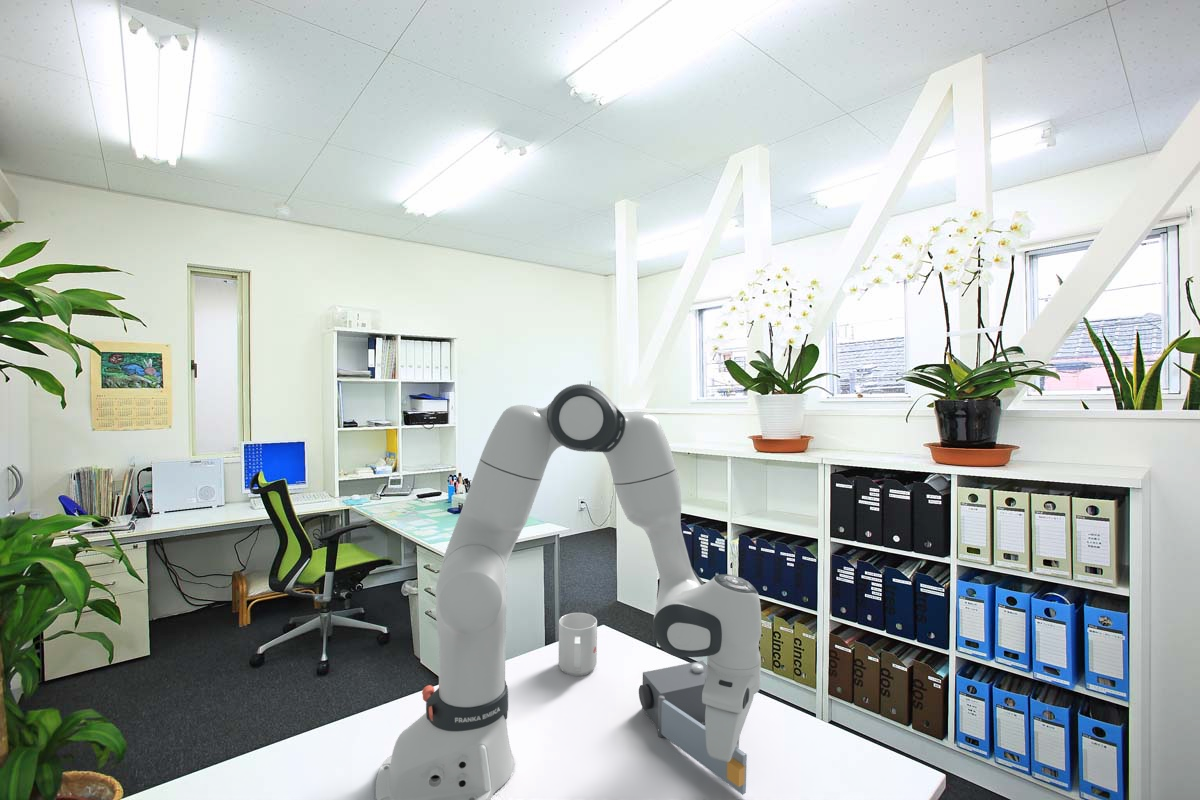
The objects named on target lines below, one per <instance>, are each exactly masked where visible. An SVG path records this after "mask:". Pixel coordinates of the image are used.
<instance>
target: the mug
mask: <svg viewBox="0 0 1200 800" xmlns="http://www.w3.org/2000/svg"><path fill="white" fill-rule="evenodd" d="M597 646H598V620H597V617H595V616H594V615H592V614H590V613H585V612H572V613H568V614H564V615H563V616H561V617H560V618H559V620H558V667H559V668H560V670H562V671H563V673H565V674H567V675H569V676H573V677H581V676H586V675H588V674H590V673H591V672H592V671H593V670H594V669H595V668H596V665H597V664H598V663H597V659H598V658H597V655H598V653H597V651H598V647H597Z"/></svg>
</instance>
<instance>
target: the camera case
mask: <svg viewBox="0 0 1200 800" xmlns="http://www.w3.org/2000/svg"><path fill="white" fill-rule="evenodd" d="M706 669H707V663H706V662H704V661H703V660H699V661H694V662H690V663H689V662H688V663H684V664H679V665H674V666H669V667H663V668H658V669H655V670H647V671H643V672H642V684H640V685H639V687H638V698H639V702H640V705H641V707H642V710H643V711H644V712H645V714H646V715H647V717H648V718H649V719H650V721H651V722H652V723H653V725H654V726H655V728H656V729H657V730H658V697H659V696H664V697H665V700H667V701H668V702H670V703H671V704H673V705H674V706H676V707H677V708H679V709H680V710H682V711H683V712H685V713H686V714H688V715H689V716H691V717H692V718H694V719H695V720H697V721H698V722H700V723H703V722H704V723H705V709H706V704H703V703H702V691H703V687H704V684H705V680H706Z"/></svg>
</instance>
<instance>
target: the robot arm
mask: <svg viewBox="0 0 1200 800" xmlns="http://www.w3.org/2000/svg"><path fill="white" fill-rule="evenodd" d="M560 447H564V448H566V449H569V450H572V451H576V452H585V453H586V452H590V453H591V452H593V453H603V455H604V456H605V458H606V459H607V463H608V466H609V468H610V472H611V473H610V474H611V476H612V481H613V485H614V488H615V493H616V495H617V498H618V502H619V505H620V506H621V509H622V511H623V513H624V515H625V517H626V519H627V520H628V521H629V522H630V523H632V524H633V525H635V526H637V527H639V528H641V529H642V530H643V531H644V532H645V534H646V535H647V538H648V540H649V543H650V546H651V550H652V553H653V557H654V561H655V563H656V567H657V571H658V576H659V582H658V585H657V586H658V587H657V590H656V591H657V592H656V604H655V609H654V614H653V621H652V633H653V637H654V640H655V641H656V643H657V645H658V646H659V647H660V648H661V649H662V650H663V651H664V652H666V653H667V654H669V655H671V656H673V657H677V658H701V657H702V658H703V657H706V662H707V663H706V665H707V669H706V680H705V684H704V687H703V691H702V703H703V704H706V709H705V721H704V726H705V733H706V748H707V752H708V754H709V756H710V757H712V758H715V759H718V760H721V761H725V762H730V761H731V758H732V755H733V753H734V750H735V747H737V748H738V749H740V737H741V733H742V731H743V728H744V725H745V722H746V719H747V716H748V714H749V711H750V708H751V706H752V703H753V700H754V696H755V695H756V694H757V693H758V692H759V691H760V689H761V676H762V675H761V672H762V671H761V667H762V663H761V661H762V657H761V652H760V648H759V647H760V646H759V645H760V640H761V637H762V607H761V600H760V595H759V592H758V591H757V589H756V587H754V585H753V584H751V582H749V581H747V580H746V579H744V578H743V577H739V576H737V575H734V574H727V573H724V574H717V575H714V576H713V577H712V578H711V579H710V580H709V581H707V582H704V581H703V580H702V579H701V577H700V576H699V575H698V574H697V572H696V570H694V568H693V565H692V563H691V559H690V555H689V551H688V548H687V545H686V540H685V537H684V534H683V530H682V525H681V523H682V522H681V515H682V493H681V485H680V479H679V476H678V470H677V466H676V463H675V459H674V456H673V452H672V449H671V447H670V445H669V441H668V439H667V436H666V433H665V432H664V430H663V427H662V426H661V424H660V421H659V419H657V417H656V416H654V415H653V414H651V413H648V412H645V411H630V412H624V413H623V412H622V411H621V410H620V408H619V407H618V406H617V405H616V404H615V403H614V402H613V401H612V400H611V399H610V398H609V397H608V396H607V394H605V393H604V392H603V391H602V390H600V389H599V388H597V387H595V386H594V385H591V384H585V383H578V384H572V385H569V386H567V387H565V388H564V389H561V390H560V392H558V393H557V394H556V395H555V396H554V398H553V400H552V401H551V402H550V403H549V404H548V405H547V406H546V407H543V408H542V407H541V408H538V407H535V406H531V405H525V404H524V405H523V404H517V405H512V406H510V407H507V408H506V409H505V410H504V411H503V412H502V413H501V415H500V417H499V418H498V419H497V421H496V423H495V425H494V426H493V429H492V430H491V432H490V434H489V437H488V439H487V440H486V443H485V445H484V447H483V450H482V452H481V456H480V458H479V460H478V463H477V466H476V469H475V472H474V475H473V478H472V480H471V484H470V486H469V489H468V491H467V495H466V497H465V501H464V503H463V505H462V508H461V511H460V513H459V516H458V518H457V521H456V524H455V526H454V529H453V531H452V534H451V537H450V539H449V542H448V545H447V548H446V549H445V553H444V556H443V559H442V563H441V565H440V566H441V567H440V570H439V573H438V578H437V582H436V585H435V611H436V613H435V615H436V616H435V617H436V630H437V640H438V641H437V642H438V688H437V689H436V690H435V688H434V687H433V685H430V684H429V685H426V686H424V687H423V689H422V690H421V693H422V700H423V701H424V702H425V713H424V714H423V715H421V716H420V717H419V718H417V719H416V720H415V721H414V722H412V723H411V724H410V725H409V726H408V727H407V728H405V729H403V731H402V732H401V733H400V734H399V735H398V737H397V740H396V741H395V745H394V746H393V749H392V750H393V751H392V755H389V756H388V757H387V758H386V759H385V760H384V761H383V763H382V764H381V766H380V768H379V770H378V772H377V776H376V779H375V780H376V781H375V789H374V790H375V791H374V793H375V794H374V797H375V799H374V800H491V798H492V797H493V796H494V793H496V792H498V790H499V789H500V788H502V787H503V786H504V785H505V784H506V783H507V782H508V780H509V779H510V778H511V776H512V774H513V772H514V770H515V758H514V755H513V752H512V749H511V744H510V739H509V733H508V726H507V725H508V724H507V719H508V712H509V689H508V685H507V682H506V635H507V634H506V633H507V631H506V630H507V596H508V595H507V594H508V593H507V591H508V587H507V585H508V583H507V569H508V568H507V567H508V563H509V559H510V556H511V555H512V552H513V549H514V548H515V546H516V543H517V541H518V539H519V537H520V535H521V533H522V531H523V529H524V528H525V526H526V524H527V523H528V520H529V516H530V514H531V511H532V508H533V505H534V503H535V499H536V497H537V493H538V491H539V488H540V487H541V482H542V480H543V477H544V475H545V470H546V468H547V465H548V463H549V461H550V458H551V457H552V455H553V454H554V452H555V451H556V450H557V449H559V448H560Z"/></svg>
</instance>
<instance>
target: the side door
mask: <svg viewBox="0 0 1200 800" xmlns="http://www.w3.org/2000/svg"><path fill="white" fill-rule="evenodd" d="M657 737H658V738H661V739H662V738H664V737H665V738H666V739H668V740H669V741H670V742H671V743H672V744H674V746H676V747H678V748H679V749H681V750H682V751H683V752H685V753H686V754H687V755H688V756H690V757H691V758H692V759H694V760H695V761H697V762H698V763H700V764H701V765H702V766H703V767H704V768H706V769H707V770H708V771H710V772H711V773H713V774H714V775H715V776H716V777H718V778H719V779H720V780H722V781H724V783H726V784H727V785H728V786H730V787H731V788H733V789H734V790H735V791H737V792H738V793H740V794H741V795H742V796H743V795H745V794H746V793H747V762H748V761H747V759H748V758H747V757H748V755H747V754H748V753H746V752H744V751H743V750H742V749H740V748H739V749H738V748H737V747H735V750H734V753H733V755H732V758H731V761H730V762H725V761H721V760H718V759H715V758H712V757H710V756H709V754H708V752H707V748H706V733H705V724H703V723H702V722H698V721H697V720H695V719H694V718H692V717H691V716H689V715H688V714H686V713H685V712H683V711H682V710H680V709H679V708H677V707H676V706H674V705H673V704H671V703H670V702H668V701H667V700H665V697H664V696H659V697H658V729H657Z"/></svg>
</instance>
